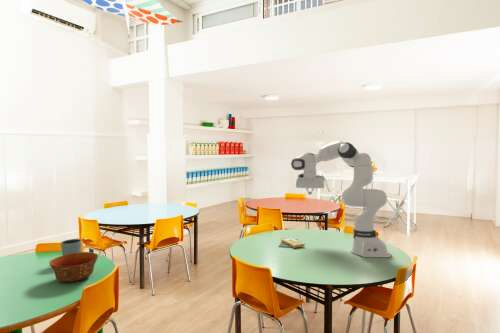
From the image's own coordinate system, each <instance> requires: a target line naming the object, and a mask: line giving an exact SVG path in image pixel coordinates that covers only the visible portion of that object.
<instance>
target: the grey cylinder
mask: <svg viewBox="0 0 500 333" xmlns="http://www.w3.org/2000/svg"><path fill="white" fill-rule="evenodd" d="M60 247H61V253H62V255H61V256H63V255H66V254H72V253H80V252H82V239H80V238H72V239H67V240H66V239H65V240H63V241H61V242H60Z"/></svg>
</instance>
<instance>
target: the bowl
mask: <svg viewBox="0 0 500 333" xmlns="http://www.w3.org/2000/svg"><path fill="white" fill-rule="evenodd" d="M98 259H99V254H97V253H95V252H90V251H86V252H85V251H83V252H82V251H81V252H80V253H72V254H66V255H60V256H57V257H55V258H53V259H51V260H50V261H49V262H48V263H49V266H50V268H51V269H52V270H53V273H54V275H55V278H56V280H57V281H60V282H64V283H65V282H68V283H69V282H76V281H80V280H83V279H85V278H88V277H89V276H91V275H92V274H93V272H94V270H95V264H96V262H97V260H98Z"/></svg>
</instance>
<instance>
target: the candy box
mask: <svg viewBox="0 0 500 333" xmlns="http://www.w3.org/2000/svg"><path fill="white" fill-rule="evenodd" d="M295 239H296V238H293V237H288V238H284V239H283V238H282V239H280V241H281V242H283V243H286V244H288V245H290V246H292V247H294V249H295V248H301V247H305V245H306V244H305V243H304V242H302V241H300V240H298V239H297V240H295ZM281 242H280V243H281Z"/></svg>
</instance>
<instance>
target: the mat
mask: <svg viewBox="0 0 500 333" xmlns="http://www.w3.org/2000/svg"><path fill="white" fill-rule="evenodd" d="M282 239H285V238H282ZM294 239H295V240H298V238H294ZM278 248H290V249H291V248H292V249H293V248H294V247H292V246H290V245H288V244H286V243H283V242H280V244H279V245H278ZM294 249H295V248H294Z"/></svg>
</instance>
